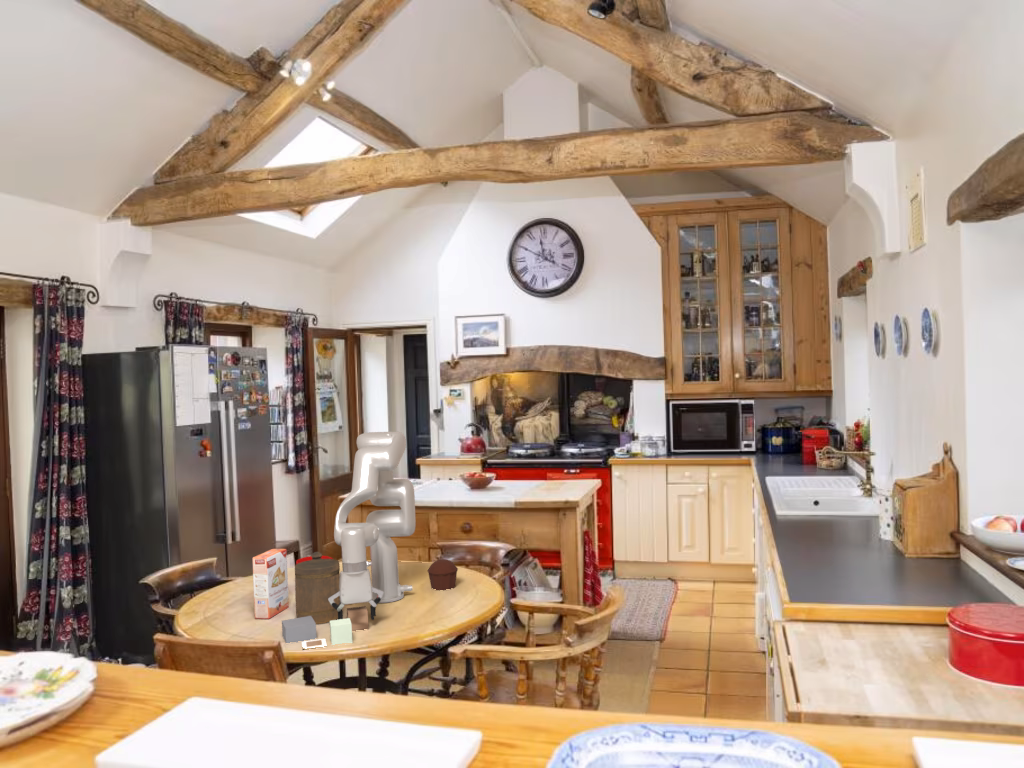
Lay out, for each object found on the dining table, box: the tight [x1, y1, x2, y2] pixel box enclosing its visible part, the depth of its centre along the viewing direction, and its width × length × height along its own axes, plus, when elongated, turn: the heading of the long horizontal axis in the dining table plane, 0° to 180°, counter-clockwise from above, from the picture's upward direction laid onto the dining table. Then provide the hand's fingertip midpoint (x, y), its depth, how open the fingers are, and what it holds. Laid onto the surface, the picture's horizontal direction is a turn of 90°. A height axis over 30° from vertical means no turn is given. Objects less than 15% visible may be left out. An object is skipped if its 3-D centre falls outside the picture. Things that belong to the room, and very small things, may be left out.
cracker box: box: [252, 548, 290, 620], centre depth 271 cm, size 14×6×21 cm, turn 168°
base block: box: [281, 616, 318, 644], centre depth 244 cm, size 9×9×5 cm
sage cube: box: [329, 617, 353, 646], centre depth 238 cm, size 6×6×6 cm
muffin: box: [427, 558, 459, 591], centre depth 294 cm, size 12×11×10 cm
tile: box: [301, 637, 328, 649], centre depth 236 cm, size 7×7×1 cm
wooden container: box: [294, 551, 341, 625], centre depth 263 cm, size 15×15×22 cm
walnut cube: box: [346, 605, 369, 632], centre depth 250 cm, size 6×6×6 cm
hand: (357, 620), depth 250 cm, fingers open, 9 cm apart
